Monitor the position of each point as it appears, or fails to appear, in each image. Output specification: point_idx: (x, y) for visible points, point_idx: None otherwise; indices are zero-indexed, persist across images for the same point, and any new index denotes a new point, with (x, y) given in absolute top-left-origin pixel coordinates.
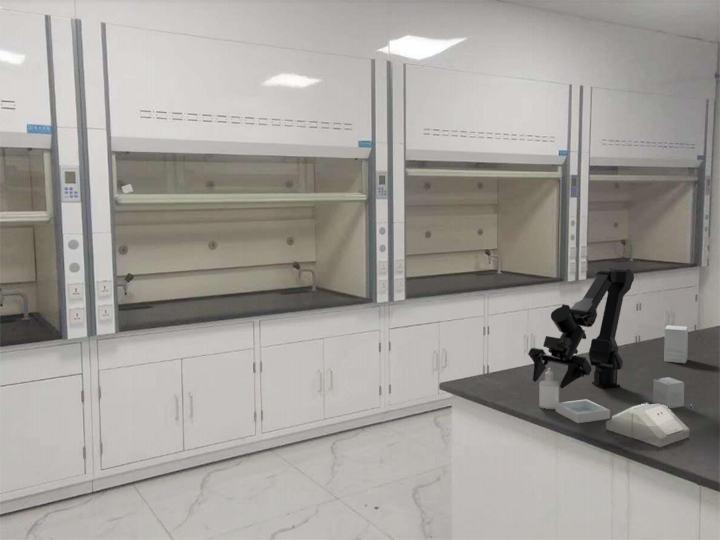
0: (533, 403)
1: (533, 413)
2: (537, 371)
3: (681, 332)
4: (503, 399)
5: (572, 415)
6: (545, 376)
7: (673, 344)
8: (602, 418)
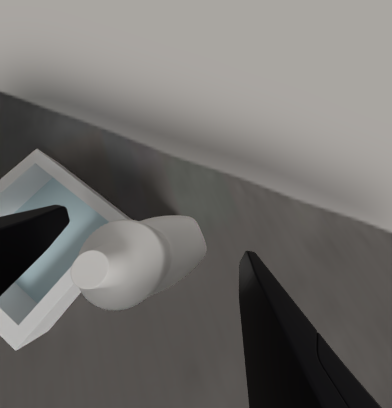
0: (224, 264)
1: (188, 176)
2: (269, 322)
3: None
4: (318, 249)
5: (65, 169)
6: (158, 232)
7: None
8: None
